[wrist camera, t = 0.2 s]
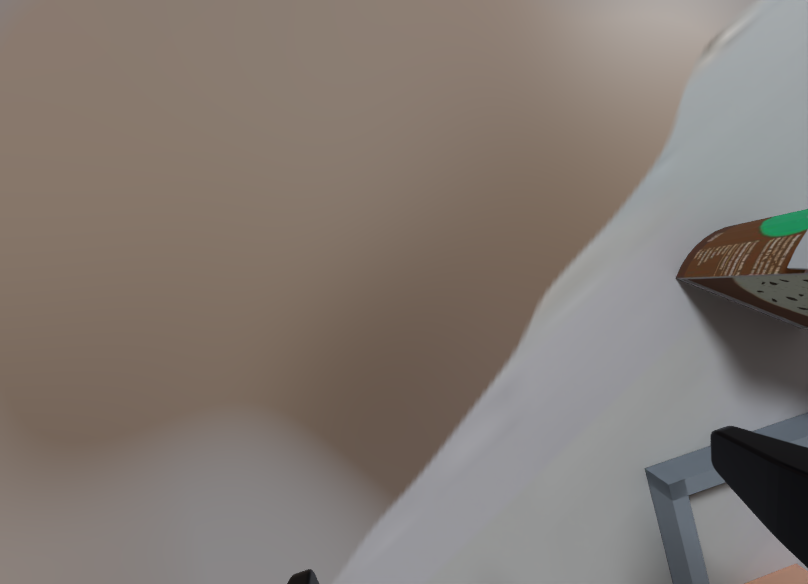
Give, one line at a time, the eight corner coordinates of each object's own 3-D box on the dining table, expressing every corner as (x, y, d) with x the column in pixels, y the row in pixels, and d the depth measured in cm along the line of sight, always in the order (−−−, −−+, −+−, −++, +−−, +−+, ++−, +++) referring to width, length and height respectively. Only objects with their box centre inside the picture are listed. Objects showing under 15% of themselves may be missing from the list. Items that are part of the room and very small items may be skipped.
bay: (839, 525, 28) (877, 544, 26) (674, 587, 26) (699, 612, 24) (814, 410, 27) (850, 420, 25) (644, 468, 26) (668, 484, 24)
